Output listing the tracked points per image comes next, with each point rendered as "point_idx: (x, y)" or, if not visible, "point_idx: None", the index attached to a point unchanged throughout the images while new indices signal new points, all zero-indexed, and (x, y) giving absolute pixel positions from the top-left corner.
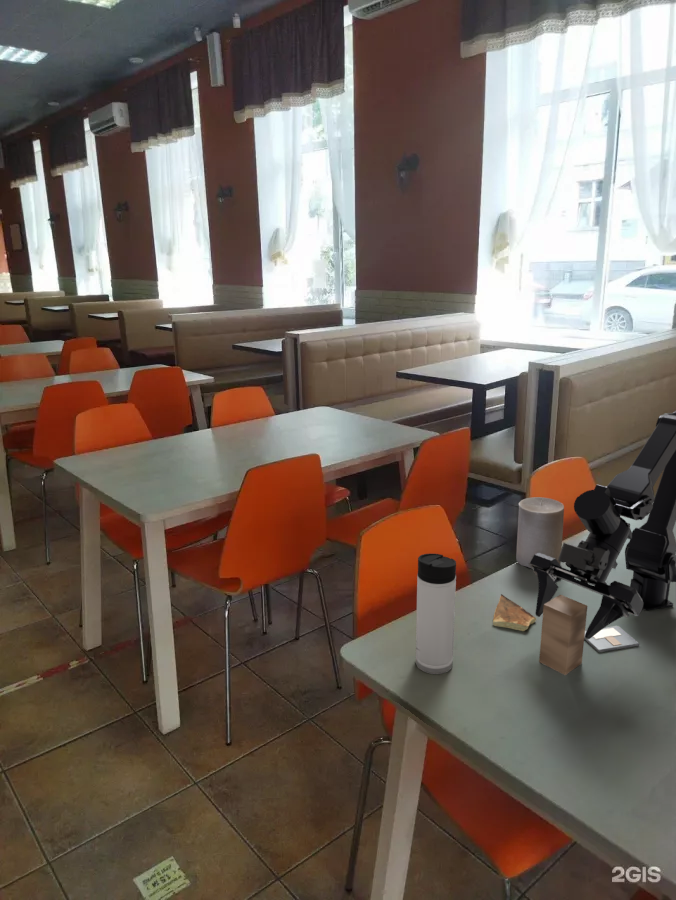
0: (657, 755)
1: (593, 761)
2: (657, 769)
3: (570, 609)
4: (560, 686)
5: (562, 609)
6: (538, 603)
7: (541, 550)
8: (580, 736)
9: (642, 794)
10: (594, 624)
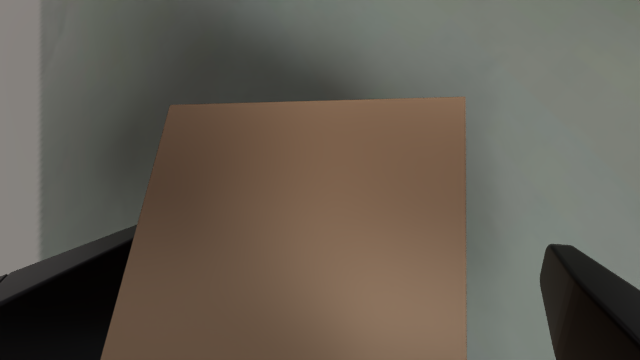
0: (57, 107)
1: (155, 4)
2: (56, 74)
3: (206, 207)
4: None
5: (265, 148)
6: (628, 296)
7: None
8: (194, 39)
9: (74, 7)
10: (73, 255)
